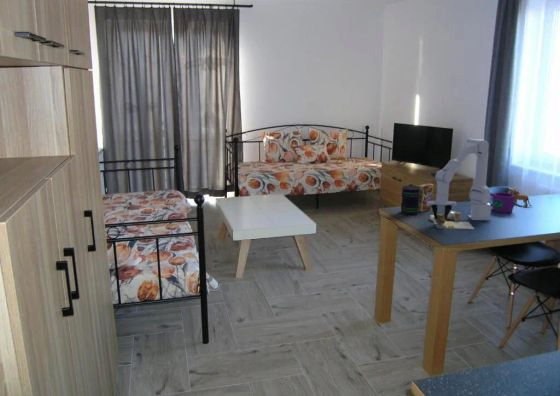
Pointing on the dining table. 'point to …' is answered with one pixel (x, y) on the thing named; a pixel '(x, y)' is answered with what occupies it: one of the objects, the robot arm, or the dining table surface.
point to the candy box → (425, 196)
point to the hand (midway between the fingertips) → (440, 219)
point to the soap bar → (432, 218)
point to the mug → (503, 202)
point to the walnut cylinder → (440, 219)
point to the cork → (457, 217)
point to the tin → (451, 215)
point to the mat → (454, 225)
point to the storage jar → (410, 200)
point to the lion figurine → (519, 196)
